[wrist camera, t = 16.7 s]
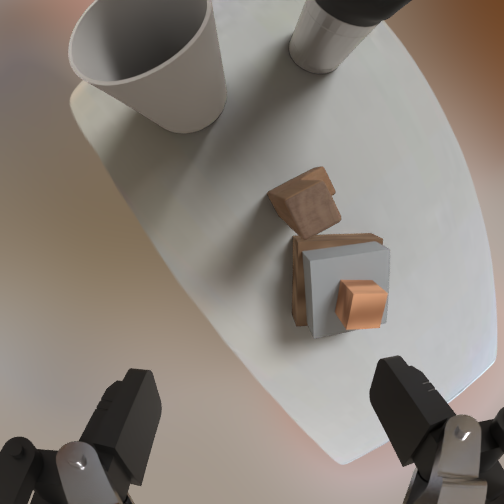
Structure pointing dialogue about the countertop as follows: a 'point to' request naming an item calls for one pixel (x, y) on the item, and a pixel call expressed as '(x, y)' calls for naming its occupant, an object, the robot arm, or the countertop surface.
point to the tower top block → (328, 280)
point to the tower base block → (298, 269)
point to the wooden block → (306, 203)
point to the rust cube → (360, 304)
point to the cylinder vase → (154, 59)
